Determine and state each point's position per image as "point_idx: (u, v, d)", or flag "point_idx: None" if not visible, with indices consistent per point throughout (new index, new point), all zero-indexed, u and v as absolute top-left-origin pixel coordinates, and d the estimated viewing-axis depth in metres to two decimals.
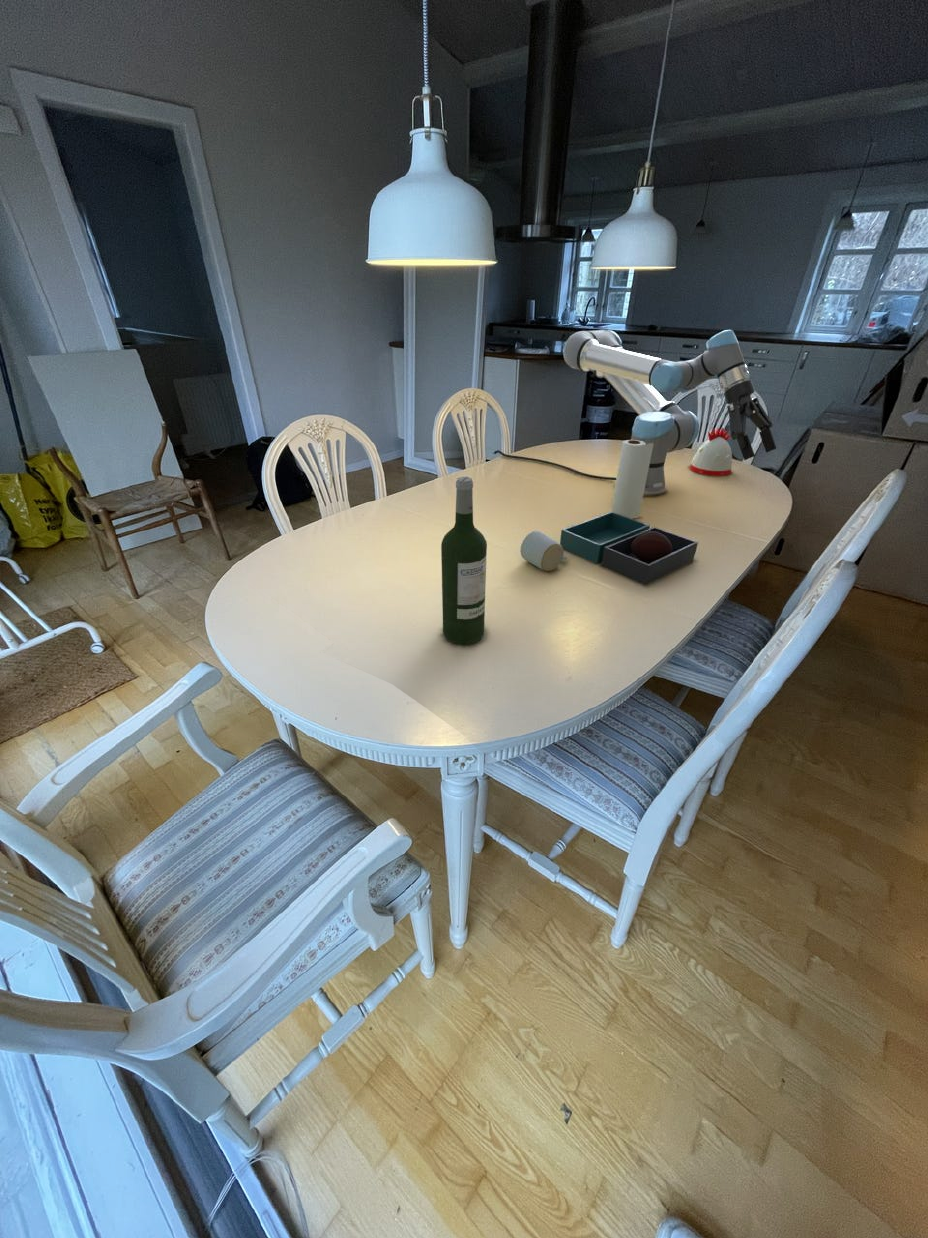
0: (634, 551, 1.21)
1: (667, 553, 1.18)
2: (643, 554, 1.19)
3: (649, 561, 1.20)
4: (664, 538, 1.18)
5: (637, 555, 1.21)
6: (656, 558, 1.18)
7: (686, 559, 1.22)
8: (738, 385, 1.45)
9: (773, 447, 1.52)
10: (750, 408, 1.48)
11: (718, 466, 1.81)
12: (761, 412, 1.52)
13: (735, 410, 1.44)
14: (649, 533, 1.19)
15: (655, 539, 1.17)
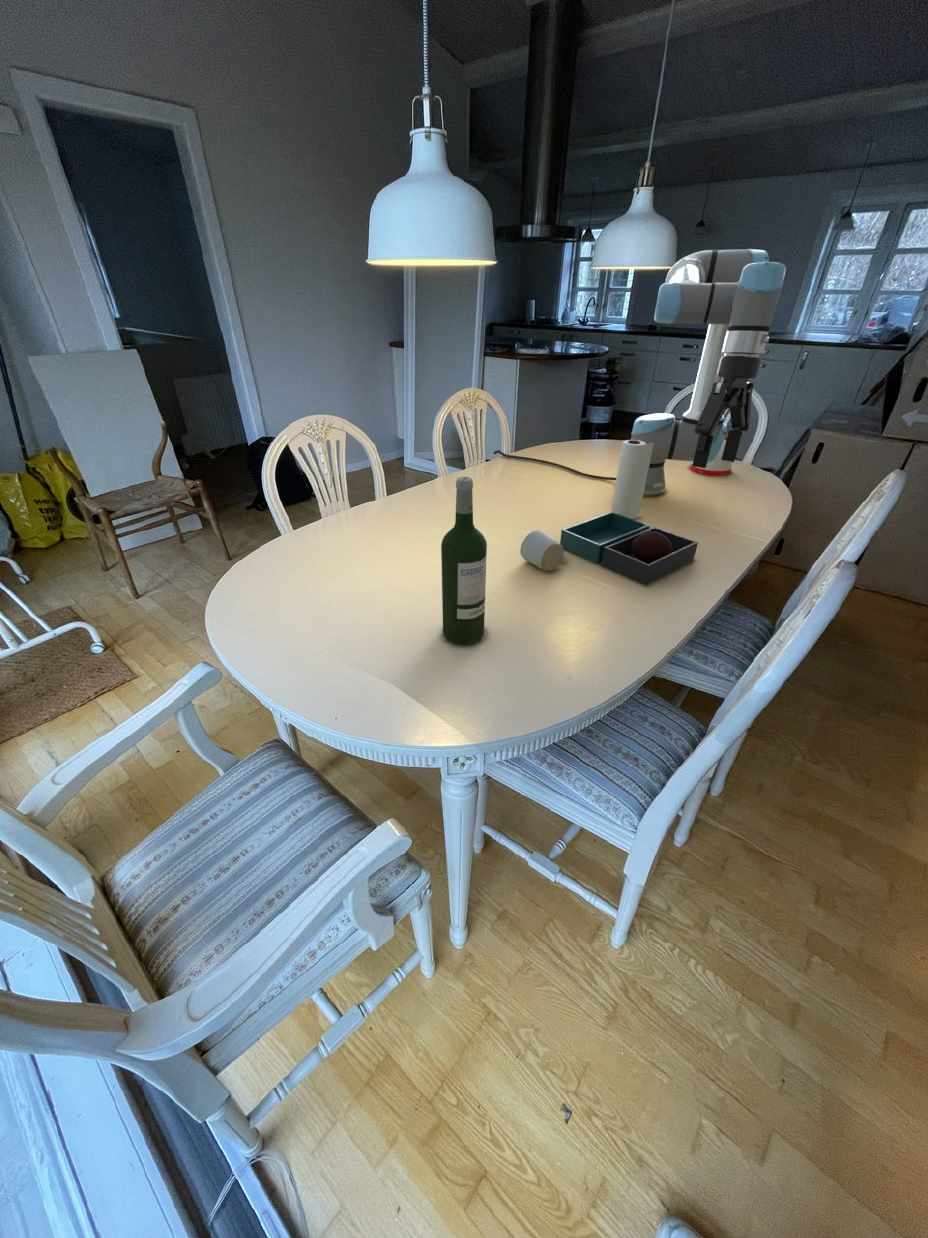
0: (634, 551, 1.21)
1: (667, 553, 1.18)
2: (643, 554, 1.19)
3: (649, 561, 1.20)
4: (664, 538, 1.18)
5: (637, 555, 1.21)
6: (656, 558, 1.18)
7: (686, 559, 1.22)
8: (743, 360, 1.00)
9: (731, 458, 1.15)
10: (737, 397, 1.06)
11: (718, 466, 1.81)
12: (746, 406, 1.10)
13: (719, 395, 1.01)
14: (649, 533, 1.19)
15: (655, 539, 1.17)
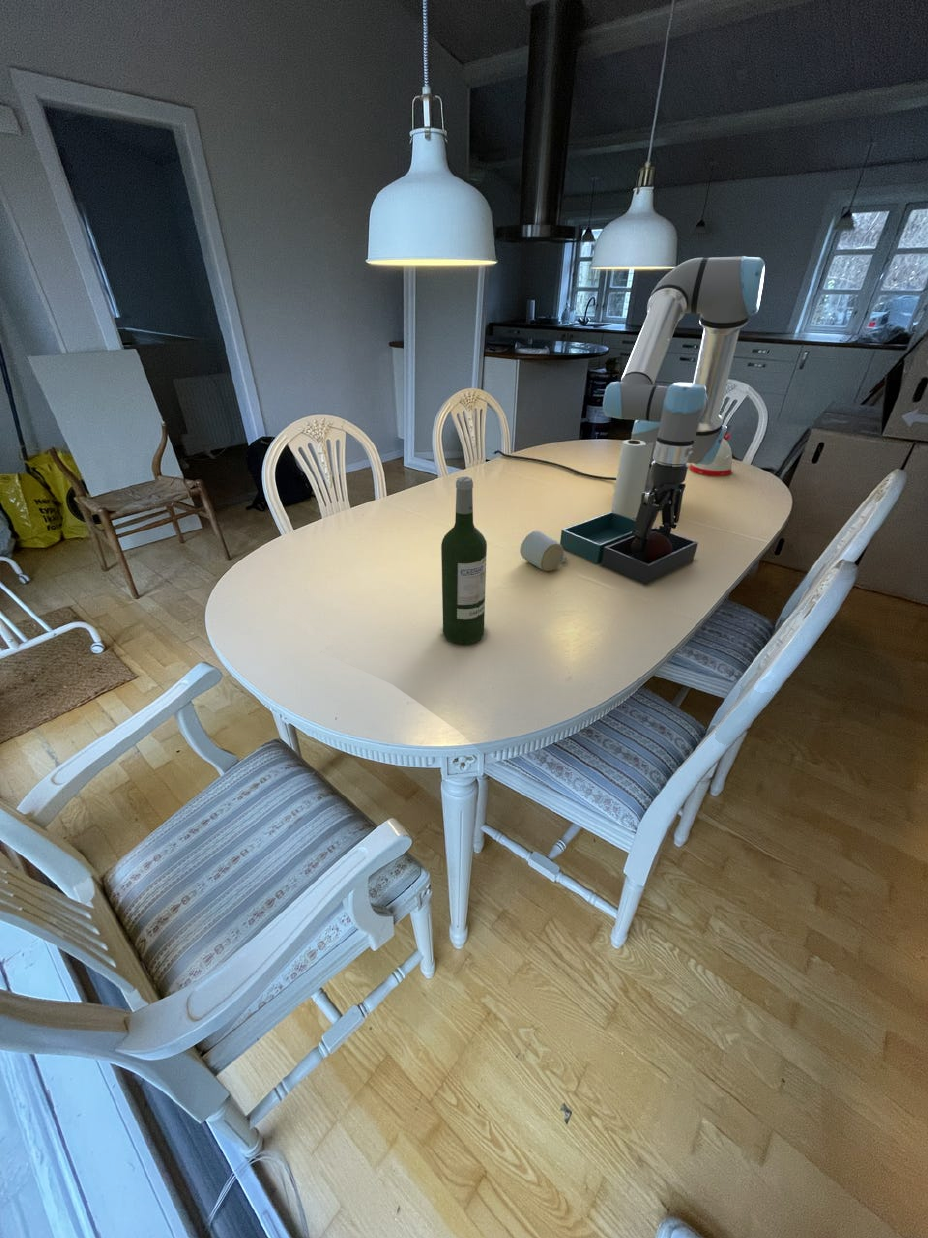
0: None
1: (667, 553, 1.18)
2: None
3: (649, 561, 1.20)
4: (664, 538, 1.18)
5: None
6: (656, 558, 1.18)
7: (686, 559, 1.22)
8: (669, 470, 1.07)
9: None
10: (669, 497, 1.14)
11: (718, 466, 1.81)
12: (677, 504, 1.18)
13: (648, 506, 1.10)
14: (649, 533, 1.19)
15: (655, 539, 1.17)
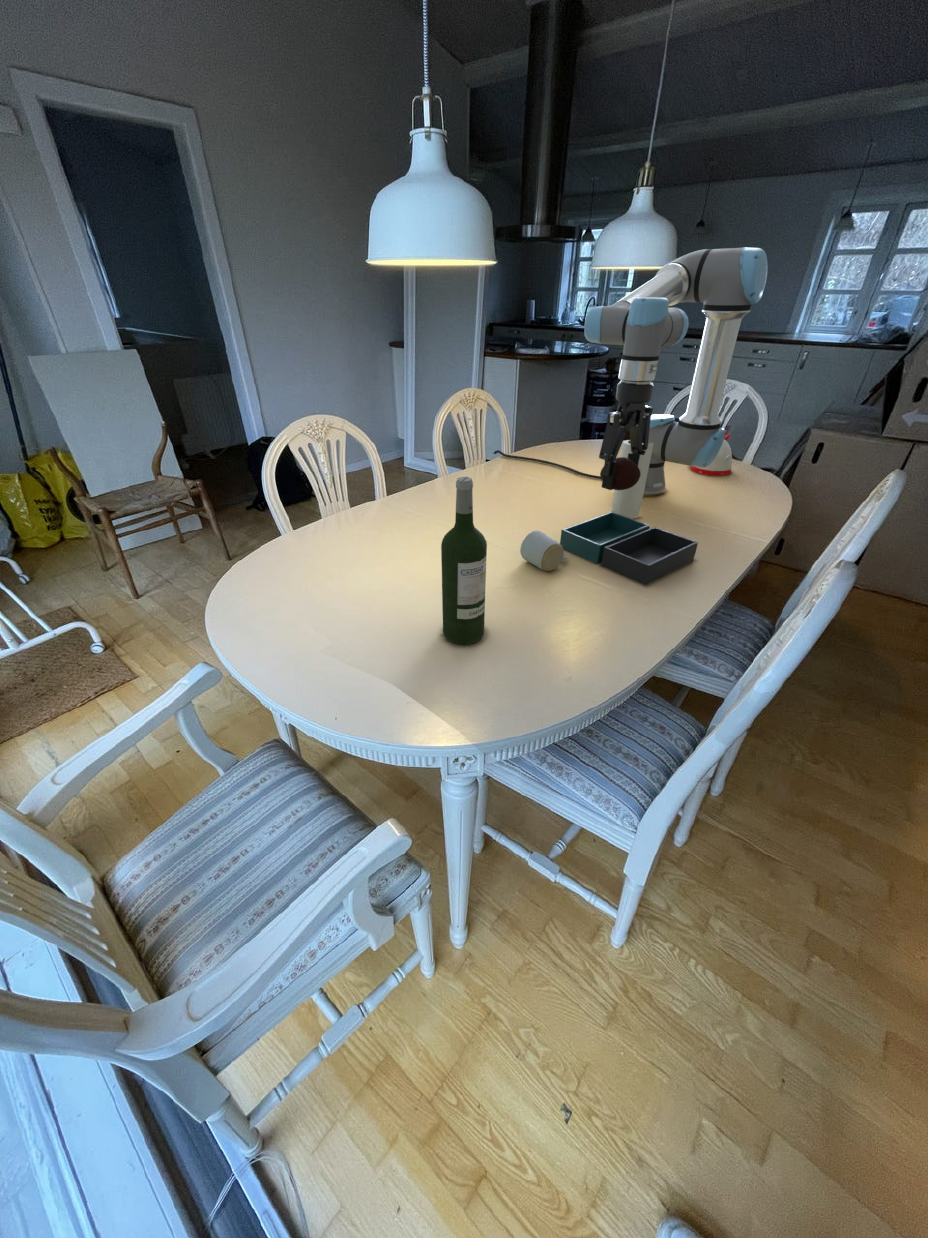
0: None
1: (635, 478, 1.18)
2: None
3: (618, 487, 1.20)
4: (632, 463, 1.18)
5: None
6: (624, 483, 1.18)
7: (686, 559, 1.22)
8: (634, 388, 1.07)
9: None
10: (635, 419, 1.14)
11: (718, 466, 1.81)
12: (645, 429, 1.18)
13: (614, 426, 1.10)
14: (617, 458, 1.19)
15: (623, 463, 1.17)
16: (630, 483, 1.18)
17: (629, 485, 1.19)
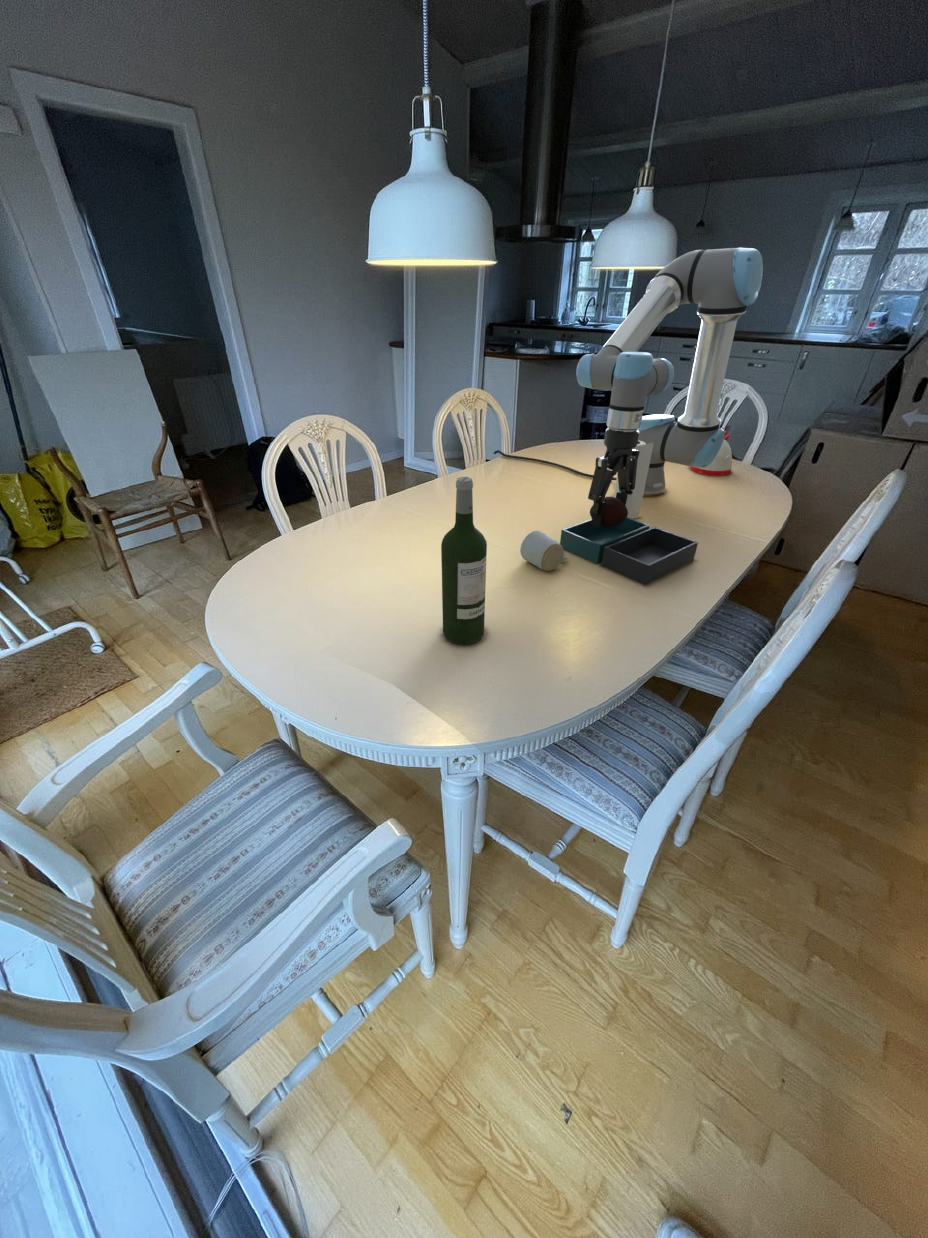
0: None
1: (623, 517, 1.24)
2: None
3: (606, 525, 1.26)
4: (620, 503, 1.24)
5: None
6: (612, 522, 1.24)
7: (686, 559, 1.22)
8: (620, 435, 1.14)
9: None
10: (623, 462, 1.20)
11: (718, 466, 1.81)
12: (632, 470, 1.24)
13: (601, 470, 1.17)
14: (606, 498, 1.25)
15: (611, 503, 1.23)
16: (618, 522, 1.25)
17: (617, 523, 1.25)
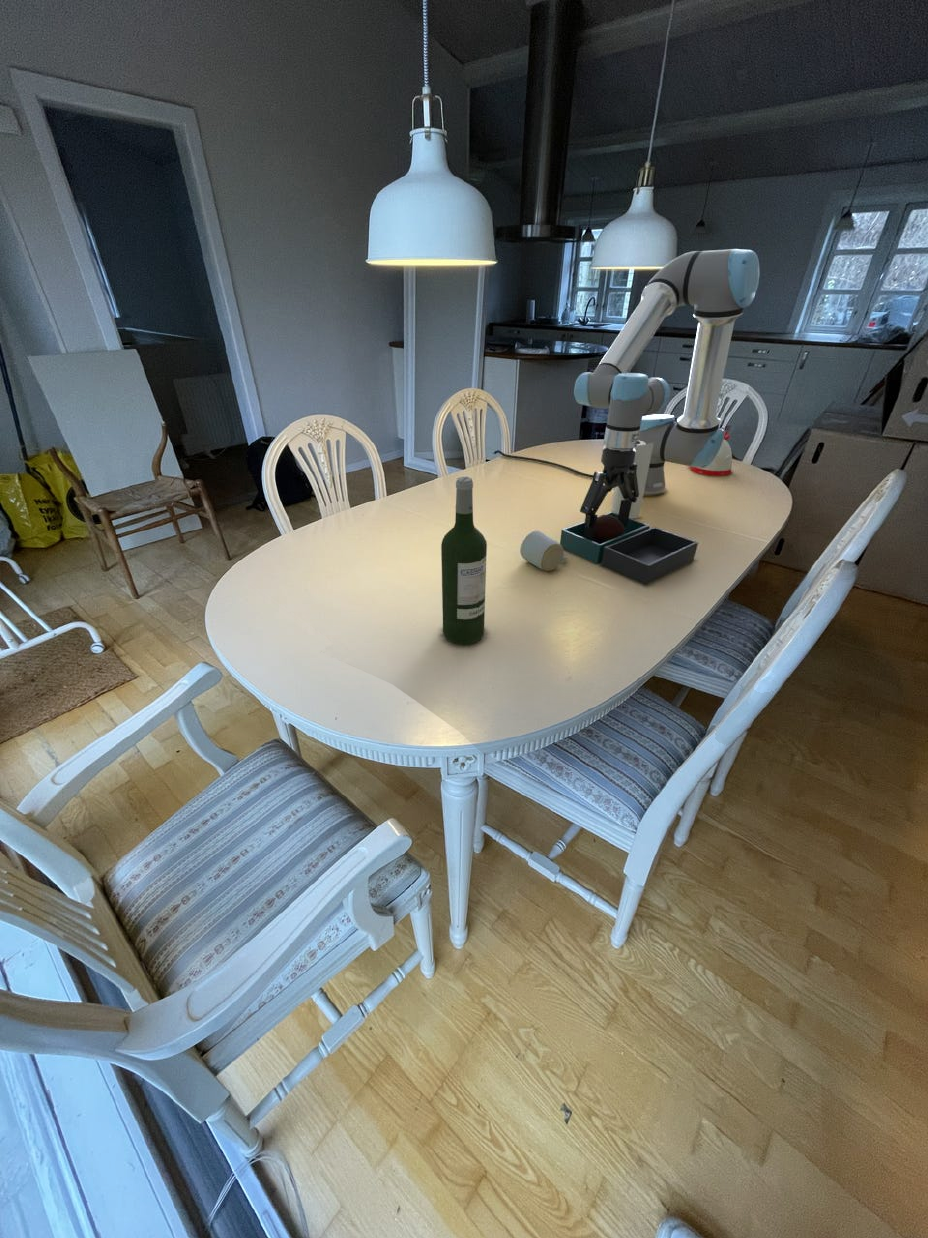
0: None
1: (619, 535, 1.27)
2: (597, 535, 1.27)
3: (603, 542, 1.28)
4: (616, 521, 1.26)
5: None
6: (609, 539, 1.27)
7: (686, 559, 1.22)
8: (617, 454, 1.16)
9: (624, 524, 1.32)
10: (620, 480, 1.22)
11: (718, 466, 1.81)
12: (632, 482, 1.27)
13: (598, 484, 1.18)
14: (603, 516, 1.27)
15: (608, 521, 1.26)
16: None
17: None
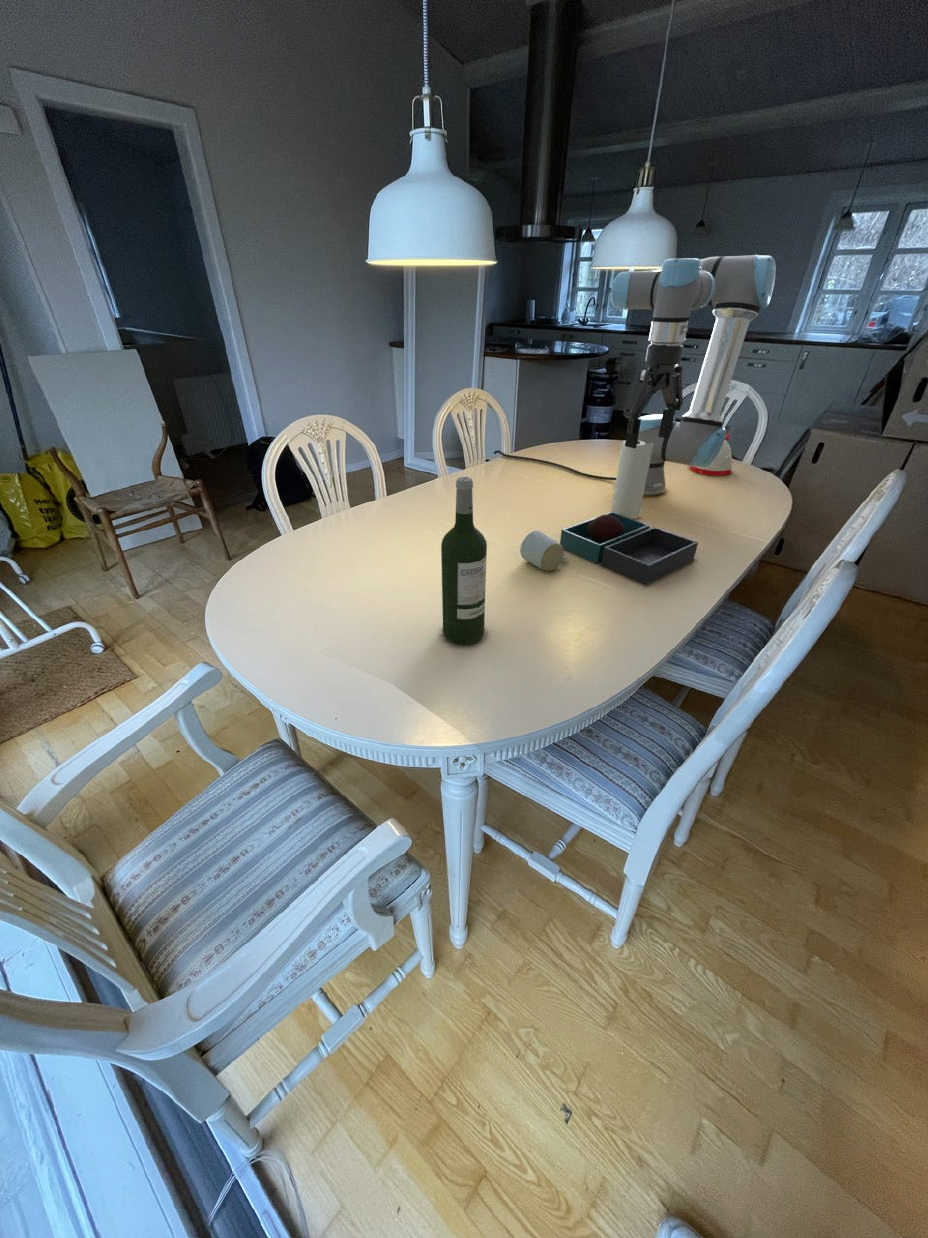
0: (590, 533, 1.29)
1: (619, 535, 1.27)
2: (597, 535, 1.27)
3: (603, 542, 1.28)
4: (616, 521, 1.26)
5: (592, 537, 1.29)
6: (609, 539, 1.27)
7: (686, 559, 1.22)
8: (664, 349, 1.10)
9: (666, 435, 1.26)
10: (665, 381, 1.16)
11: (718, 466, 1.81)
12: (677, 387, 1.20)
13: (643, 383, 1.12)
14: (603, 516, 1.27)
15: (608, 521, 1.26)
16: None
17: None
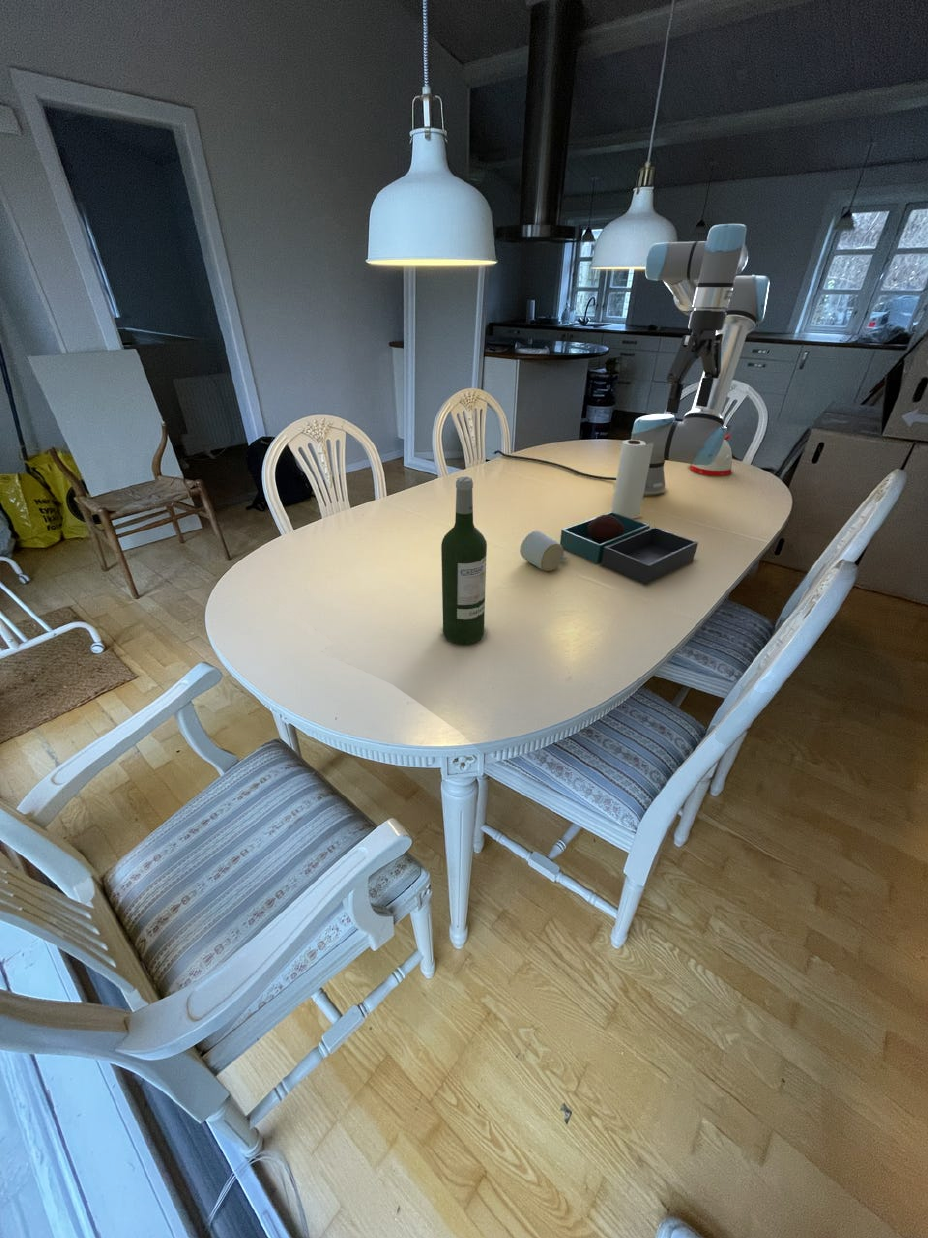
0: (590, 533, 1.29)
1: (619, 535, 1.27)
2: (597, 535, 1.27)
3: (603, 542, 1.28)
4: (616, 521, 1.26)
5: (592, 537, 1.29)
6: (609, 539, 1.27)
7: (686, 559, 1.22)
8: (709, 314, 1.13)
9: (704, 404, 1.29)
10: (706, 348, 1.19)
11: (718, 466, 1.81)
12: (716, 355, 1.24)
13: (687, 347, 1.15)
14: (603, 516, 1.27)
15: (608, 521, 1.26)
16: None
17: None
